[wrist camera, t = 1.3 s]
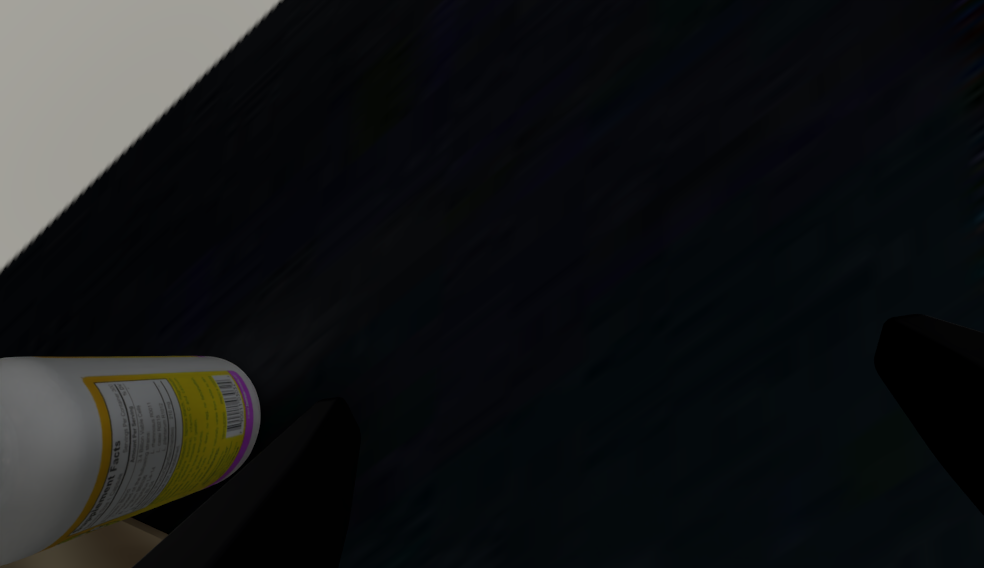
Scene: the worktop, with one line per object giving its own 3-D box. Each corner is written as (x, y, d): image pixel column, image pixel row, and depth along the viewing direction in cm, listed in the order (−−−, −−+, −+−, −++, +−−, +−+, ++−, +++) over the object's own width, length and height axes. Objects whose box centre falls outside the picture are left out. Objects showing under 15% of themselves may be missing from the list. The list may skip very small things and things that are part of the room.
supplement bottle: (132, 444, 24) (-328, 539, 12) (195, 334, 25) (-181, 312, 12) (226, 511, 23) (-179, 700, 10) (290, 393, 23) (-21, 436, 11)
